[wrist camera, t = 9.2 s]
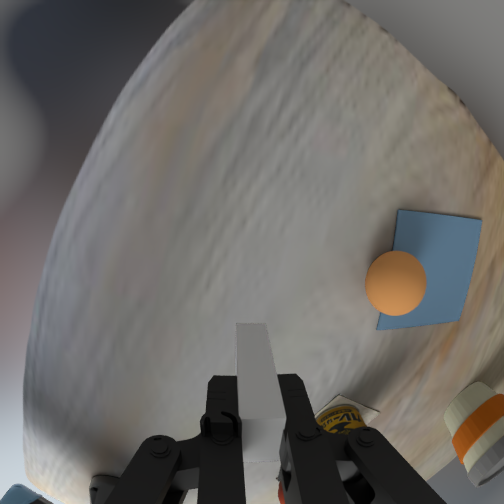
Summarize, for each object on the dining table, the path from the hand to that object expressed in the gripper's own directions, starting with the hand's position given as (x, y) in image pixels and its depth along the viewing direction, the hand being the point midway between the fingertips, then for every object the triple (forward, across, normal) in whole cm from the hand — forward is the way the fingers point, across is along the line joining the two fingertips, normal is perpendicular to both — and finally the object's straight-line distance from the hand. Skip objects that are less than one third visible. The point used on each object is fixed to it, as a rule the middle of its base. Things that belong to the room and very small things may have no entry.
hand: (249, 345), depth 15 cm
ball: (+7, -13, -1) cm, 15 cm away
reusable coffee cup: (+10, -36, +22) cm, 44 cm away
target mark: (+10, -20, -1) cm, 22 cm away
